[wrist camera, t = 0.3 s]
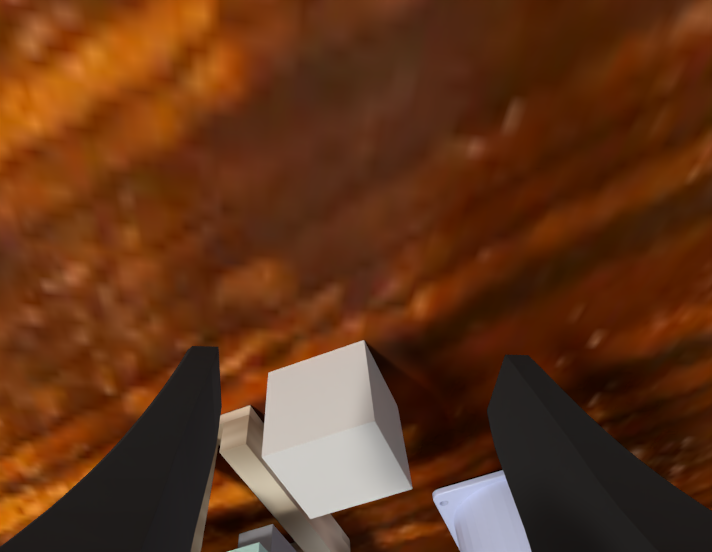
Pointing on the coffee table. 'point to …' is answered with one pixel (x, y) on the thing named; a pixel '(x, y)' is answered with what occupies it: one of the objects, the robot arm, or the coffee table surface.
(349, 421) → the white cube
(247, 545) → the trapdoor
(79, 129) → the coffee table surface
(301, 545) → the frame
